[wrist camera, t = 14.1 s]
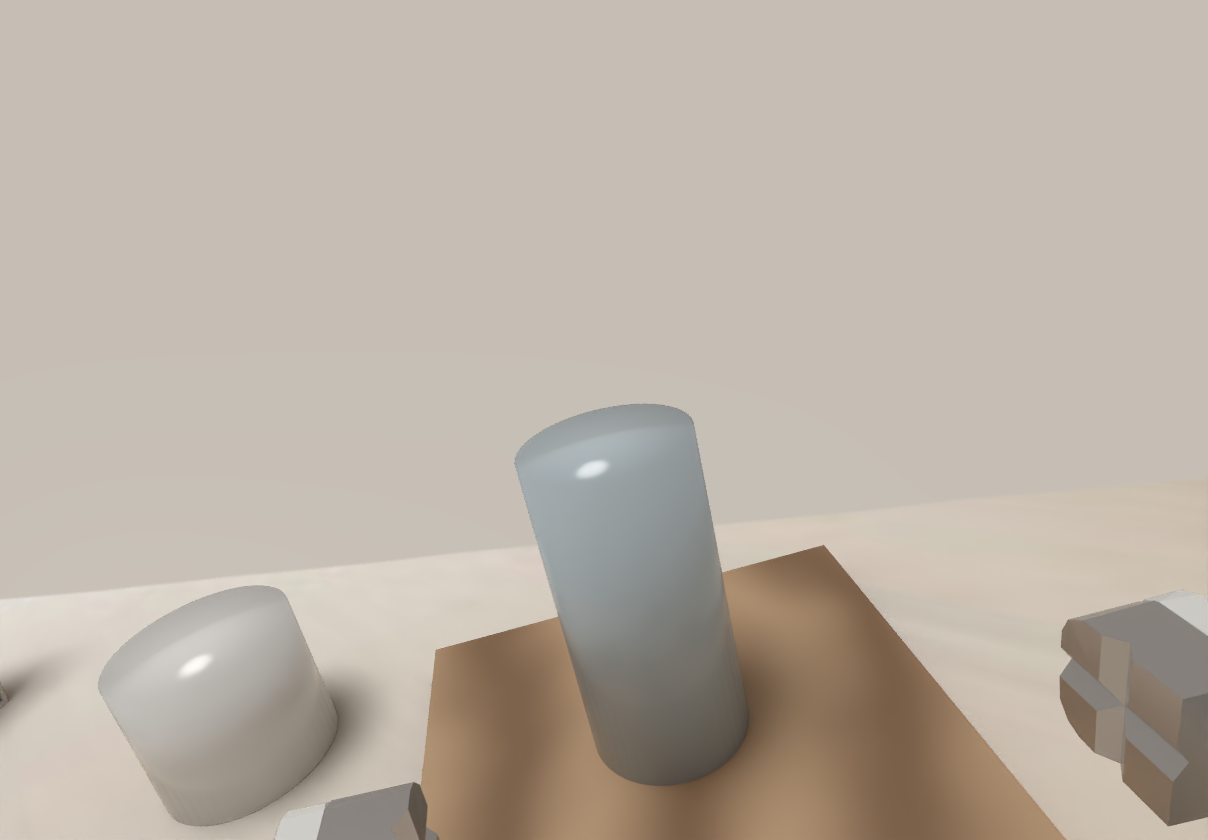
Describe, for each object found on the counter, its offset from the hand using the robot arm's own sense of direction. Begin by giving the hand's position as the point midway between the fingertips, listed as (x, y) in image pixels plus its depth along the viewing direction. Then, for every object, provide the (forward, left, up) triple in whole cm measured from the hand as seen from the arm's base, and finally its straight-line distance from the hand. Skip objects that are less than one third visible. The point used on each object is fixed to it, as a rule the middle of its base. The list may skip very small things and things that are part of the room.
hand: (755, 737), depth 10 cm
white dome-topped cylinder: (-17, +20, -14) cm, 30 cm away
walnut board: (0, +14, -14) cm, 20 cm away
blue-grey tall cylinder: (0, +14, -13) cm, 19 cm away
